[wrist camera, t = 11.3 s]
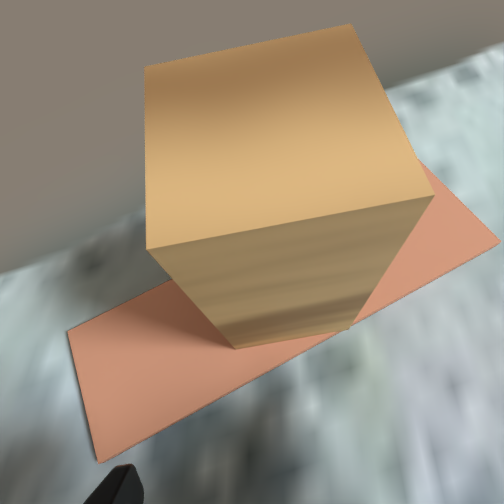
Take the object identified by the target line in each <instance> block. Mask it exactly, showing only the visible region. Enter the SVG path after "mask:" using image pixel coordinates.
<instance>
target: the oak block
mask: <svg viewBox="0 0 504 504" xmlns="http://www.w3.org/2000/svg"><path fill="white" fill-rule="evenodd" d="M144 68H145V69H144V72H145V73H144V74H145V178H146V250H147V251H148V252H149V253H150V255H151V256H152V257H153V258H154V259H155V260H156V261H157V262H158V263H159V265H160V266H161V267H162V268H163V269H164V270H165V271H166V272H167V273H168V275H169V276H170V277H171V278H172V279H173V280H174V281H175V282H176V283H177V285H178V286H179V287H180V288H181V289H182V290H183V291H184V292H185V294H186V295H187V296H188V297H189V298H190V299H191V300H192V301H193V302H194V304H195V305H196V306H197V307H198V308H199V309H200V310H201V311H202V312H203V314H204V315H205V316H206V317H207V318H208V319H209V320H210V321H211V322H212V324H213V325H214V326H215V327H216V328H217V329H218V330H219V331H220V333H221V334H222V335H223V336H224V337H225V338H226V339H227V340H228V341H229V343H230V344H231V345H232V346H233V347H234V348H235V349H236V350H237V349H242V348H248V347H253V346H259V345H265V344H270V343H276V342H282V341H287V340H293V339H298V338H304V337H310V336H315V335H321V334H327V333H332V332H338V331H343V330H348V329H349V328H350V326H351V325H352V323H353V322H354V320H355V319H356V317H357V315H358V314H359V312H360V311H361V309H362V308H363V306H364V305H365V303H366V302H367V300H368V298H369V297H370V295H371V294H372V292H373V291H374V289H375V288H376V286H377V284H378V283H379V281H380V280H381V278H382V277H383V275H384V274H385V272H386V271H387V269H388V267H389V266H390V264H391V263H392V261H393V260H394V258H395V257H396V255H397V253H398V252H399V250H400V249H401V247H402V246H403V244H404V243H405V241H406V240H407V238H408V236H409V235H410V233H411V232H412V230H413V229H414V227H415V226H416V224H417V222H418V221H419V219H420V218H421V216H422V215H423V213H424V212H425V210H426V209H427V207H428V205H429V204H430V202H431V201H432V199H433V198H434V196H435V193H434V191H433V189H432V187H431V185H430V183H429V181H428V179H427V177H426V175H425V173H424V170H423V168H422V166H421V164H420V162H419V160H418V158H417V156H416V154H415V152H414V150H413V148H412V146H411V144H410V142H409V140H408V138H407V136H406V134H405V132H404V130H403V128H402V126H401V124H400V122H399V120H398V118H397V116H396V114H395V112H394V110H393V108H392V106H391V103H390V101H389V99H388V97H387V95H386V93H385V91H384V89H383V87H382V86H381V83H380V81H379V79H378V77H377V75H376V73H375V71H374V69H373V67H372V65H371V63H370V61H369V59H368V57H367V55H366V53H365V51H364V49H363V47H362V45H361V43H360V41H359V39H358V37H357V34H356V32H355V30H354V28H353V26H352V24H346V25H342V26H337V27H332V28H327V29H323V30H318V31H313V32H308V33H303V34H299V35H294V36H289V37H284V38H279V39H275V40H270V41H265V42H260V43H256V44H251V45H246V46H241V47H236V48H232V49H227V50H222V51H217V52H213V53H207V54H203V55H198V56H193V57H188V58H184V59H179V60H174V61H169V62H164V63H160V64H155V65H150V66H145V67H144Z"/></svg>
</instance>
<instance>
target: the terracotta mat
mask: <svg viewBox="0 0 504 504" xmlns="http://www.w3.org/2000/svg"><path fill="white" fill-rule="evenodd" d="M418 160H419V159H418ZM419 162H420V164H421V166H422V168H423V170H424V173H425V175H426V177H427V179H428V181H429V183H430V185H431V187H432V189H433V191H434V193H435V196H434V198H433V199H432V201H431V202H430V204H429V205H428V207H427V209H426V210H425V212H424V213H423V215H422V216H421V218H420V219H419V221H418V222H417V224H416V226H415V227H414V229H413V230H412V232H411V233H410V235H409V236H408V238H407V240H406V241H405V243H404V244H403V246H402V247H401V249H400V250H399V252H398V253H397V255H396V257H395V258H394V260H393V261H392V263H391V264H390V266H389V267H388V269H387V271H386V272H385V274H384V275H383V277H382V278H381V280H380V281H379V283H378V284H377V286H376V288H375V289H374V291H373V292H372V294H371V295H370V297H369V298H368V300H367V302H366V303H365V305H364V306H363V308H362V309H361V311H360V312H359V314H358V315H357V317H356V319H355V320H354V322H353V323H352V325H354V324H356V323H358V322H359V321H361V320H363V319H365V318H367V317H368V316H370V315H372V314H374V313H376V312H377V311H379V310H381V309H383V308H385V307H387V306H388V305H390V304H392V303H394V302H396V301H397V300H399V299H401V298H403V297H405V296H406V295H408V294H410V293H412V292H414V291H415V290H417V289H419V288H421V287H423V286H424V285H426V284H428V283H430V282H432V281H434V280H435V279H437V278H439V277H441V276H443V275H444V274H446V273H448V272H450V271H452V270H453V269H455V268H457V267H459V266H461V265H462V264H464V263H466V262H468V261H470V260H472V259H473V258H475V257H477V256H479V255H481V254H482V253H484V252H486V251H488V250H490V249H491V248H493V247H495V246H496V245H498V244H499V243H500V242H501V241H500V240H499V239H498V238H497V237H496V236H495V235H494V234H493V233H492V232H491V231H490V230H489V229H488V228H487V227H486V226H485V225H484V224H483V223H482V222H481V221H480V220H479V219H478V218H477V217H476V216H475V215H474V214H473V213H472V212H471V211H470V210H469V209H468V208H467V207H466V206H465V205H464V204H463V203H462V202H461V201H460V200H459V199H458V198H457V197H456V196H455V195H454V194H453V193H452V192H451V191H450V190H449V189H448V188H447V187H446V186H445V185H444V184H443V183H442V182H441V181H440V180H439V179H438V178H437V177H436V176H435V175H434V174H433V173H432V172H431V171H430V170H429V169H428V168H427V167H426V166H425V165H424V164H423V163H422V162H421V161H420V160H419ZM352 325H351V326H352ZM67 332H68V337H69V341H70V345H71V350H72V354H73V358H74V362H75V367H76V371H77V375H78V379H79V384H80V388H81V392H82V397H83V401H84V405H85V409H86V414H87V418H88V422H89V427H90V431H91V435H92V439H93V444H94V448H95V452H96V457H97V461H98V464H100V463H104V462H106V461H108V460H110V459H112V458H113V457H115V456H117V455H119V454H121V453H122V452H124V451H126V450H128V449H130V448H131V447H133V446H135V445H137V444H139V443H140V442H142V441H144V440H146V439H148V438H150V437H151V436H153V435H155V434H157V433H159V432H160V431H162V430H164V429H166V428H168V427H169V426H171V425H173V424H175V423H177V422H178V421H180V420H182V419H184V418H186V417H188V416H189V415H191V414H193V413H195V412H197V411H198V410H200V409H202V408H204V407H206V406H207V405H209V404H211V403H213V402H215V401H216V400H218V399H220V398H222V397H224V396H226V395H227V394H229V393H231V392H233V391H235V390H236V389H238V388H240V387H242V386H244V385H245V384H247V383H249V382H251V381H253V380H254V379H256V378H258V377H260V376H262V375H264V374H265V373H267V372H269V371H271V370H273V369H274V368H276V367H278V366H280V365H282V364H283V363H285V362H287V361H289V360H291V359H292V358H294V357H296V356H298V355H300V354H301V353H303V352H305V351H307V350H309V349H311V348H312V347H314V346H316V345H318V344H320V343H321V342H323V341H325V340H327V339H329V338H330V337H332V336H334V335H336V334H338V333H339V332H341V331H338V332H332V333H327V334H321V335H315V336H310V337H304V338H298V339H293V340H287V341H282V342H276V343H270V344H265V345H259V346H253V347H248V348H242V349H237V350H236V349H235V348H234V347H233V346H232V345H231V344H230V343H229V341H228V340H227V339H226V338H225V337H224V336H223V335H222V334H221V333H220V331H219V330H218V329H217V328H216V327H215V326H214V325H213V324H212V322H211V321H210V320H209V319H208V318H207V317H206V316H205V315H204V314H203V312H202V311H201V310H200V309H199V308H198V307H197V306H196V305H195V304H194V302H193V301H192V300H191V299H190V298H189V297H188V296H187V295H186V294H185V292H184V291H183V290H182V289H181V288H180V287H179V286H178V285H177V283H176V282H175V281H174V280H173V279H171V280H169V281H167V282H165V283H163V284H161V285H159V286H157V287H155V288H153V289H151V290H149V291H147V292H145V293H143V294H141V295H139V296H137V297H135V298H133V299H131V300H129V301H127V302H125V303H123V304H121V305H119V306H117V307H115V308H113V309H111V310H109V311H107V312H105V313H103V314H101V315H99V316H97V317H95V318H93V319H91V320H89V321H87V322H85V323H83V324H81V325H79V326H77V327H75V328H73V329H71V330H69V331H67Z"/></svg>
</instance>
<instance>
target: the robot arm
mask: <svg viewBox="0 0 504 504" xmlns="http://www.w3.org/2000/svg"><path fill="white" fill-rule="evenodd" d="M143 501H144V489H143V486H142V483H141V481H140V478H139V476H138V473H137V471H136V468H135V466H134V465H133V464H124V465H119V466H116V467H114V468H113V469H112V470H111V471H110V473H109V474H108V475H107V476H106V477H105V478H104V480H103V481H102V482H101V483H100V484H99V486H98V487H97V488H96V489H95V490H94V491H93V493H92V494H91V495H90V496H89V497H88V498H87V500H86V501H85V502H84V503H83V504H143Z"/></svg>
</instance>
